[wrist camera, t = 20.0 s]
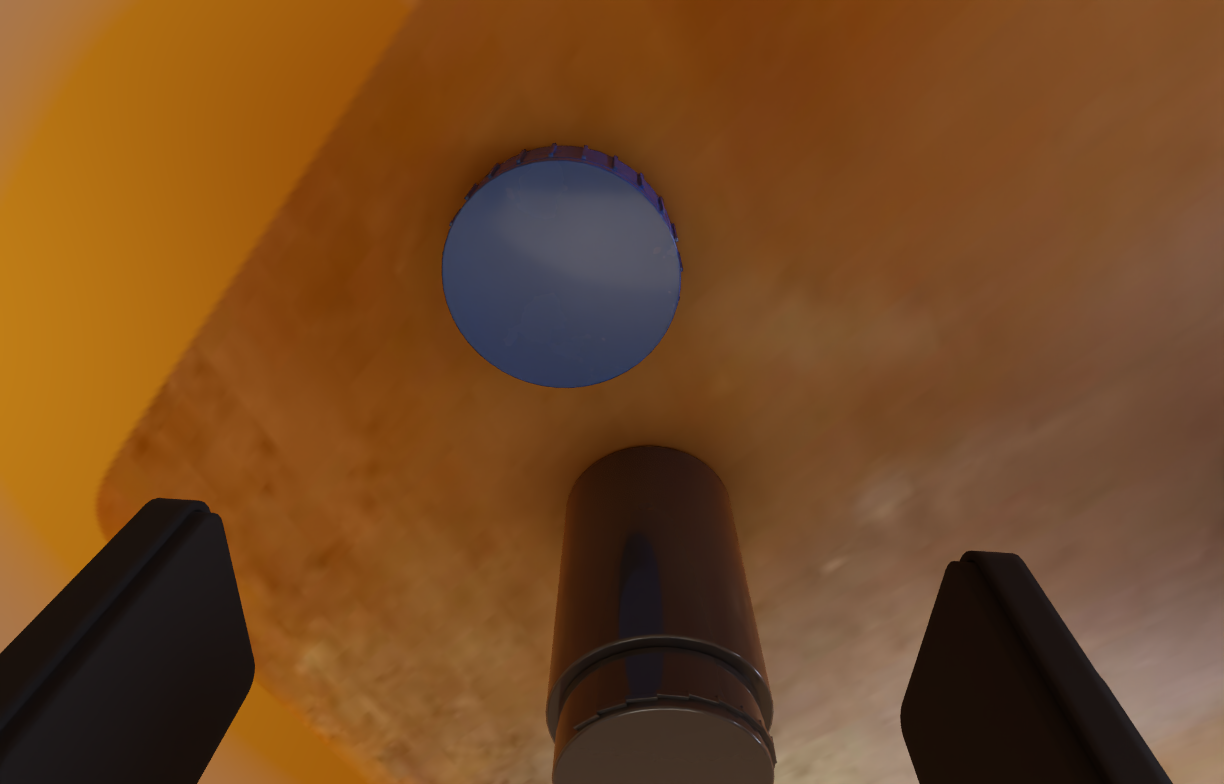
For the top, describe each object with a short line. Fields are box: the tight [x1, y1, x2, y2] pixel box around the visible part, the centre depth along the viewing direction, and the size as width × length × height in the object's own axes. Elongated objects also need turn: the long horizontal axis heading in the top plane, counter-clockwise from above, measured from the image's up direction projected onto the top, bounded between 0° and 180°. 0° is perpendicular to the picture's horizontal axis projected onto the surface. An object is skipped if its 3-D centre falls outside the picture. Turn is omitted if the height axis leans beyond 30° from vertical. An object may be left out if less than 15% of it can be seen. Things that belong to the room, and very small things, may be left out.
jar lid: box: [442, 143, 683, 388], centre depth 22 cm, size 7×7×2 cm
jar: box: [546, 447, 777, 784], centre depth 22 cm, size 6×6×10 cm
